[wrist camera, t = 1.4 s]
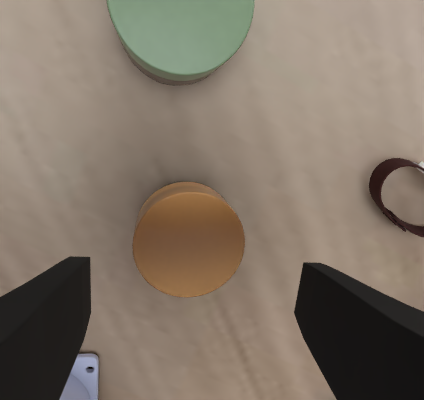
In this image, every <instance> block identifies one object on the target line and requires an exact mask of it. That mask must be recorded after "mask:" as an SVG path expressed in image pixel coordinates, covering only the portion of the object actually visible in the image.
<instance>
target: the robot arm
mask: <svg viewBox="0 0 424 400" xmlns="http://www.w3.org/2000/svg"><path fill="white" fill-rule="evenodd" d="M90 314H91V282H90V257H68V258H66V259H64V260H63V261H61V262H59V263H58V264H56V265H54V266H53V267H51V268H50V269H48V270H46V271H45V272H43V273H42V274H40V275H38V276H37V277H35V278H33V279H32V280H30V281H28V282H27V283H25V284H23V285H21V286H20V287H18V288H16V289H14V290H12V291H11V292H9V293H7V294H5V295H3V296H1V297H0V400H98V372H99V359H98V356H97V355H95V354H91V353H90V354H78V353H79V351H80V348H81V346H82V343H83V341H84V337H85V333H86V330H87V326H88V322H89V318H90ZM294 314H295V317H296V320H297V322H298V325H299V328H300V330H301V333H302V336H303V338H304V340H305V342H306V344H307V346H308V348H309V350H310V352H311V353H312V355H313V357H314V359H315V361H316V363H317V364H318V366H319V368H320V370H321V372H322V374H323V375H324V377H325V379H326V381H327V383H328V384H329V386H330V388H331V390H332V392H333V394H334V395H335V397H336V399H337V400H424V312H423V311H421V310H418V309H416V308H414V307H411V306H409V305H407V304H404V303H402V302H400V301H398V300H396V299H394V298H392V297H389V296H387V295H385V294H383V293H381V292H379V291H377V290H375V289H373V288H371V287H369V286H367V285H365V284H363V283H361V282H359V281H358V280H356V279H354V278H352V277H350V276H348V275H346V274H344V273H342V272H340V271H338V270H336V269H334V268H332V267H329V266H327V265H324V264H322V263H303V268H302V274H301V279H300V284H299V290H298V295H297V300H296V306H295V311H294ZM88 367H93V369H89V368H88Z"/></svg>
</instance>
